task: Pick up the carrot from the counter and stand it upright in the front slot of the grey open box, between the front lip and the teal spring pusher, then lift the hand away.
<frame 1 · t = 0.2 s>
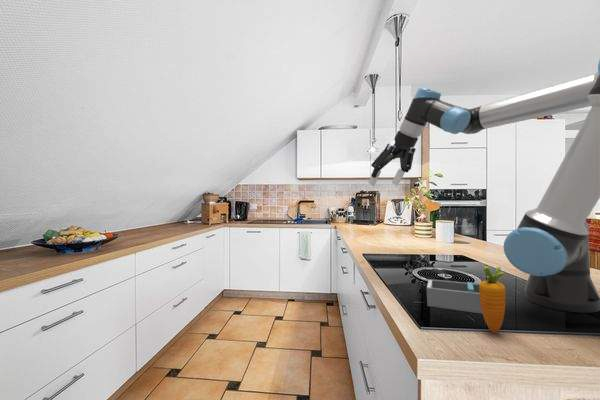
hand: (383, 184, 107), 36 cm above the cooktop, tool tilted 35°, fingers open, 13 cm apart
carrot: (494, 334, 59), on the cooktop
grey open box: (462, 304, 75), on the cooktop
pusher: (470, 293, 74), point 3 cm above the cooktop, slide at 0.0 cm
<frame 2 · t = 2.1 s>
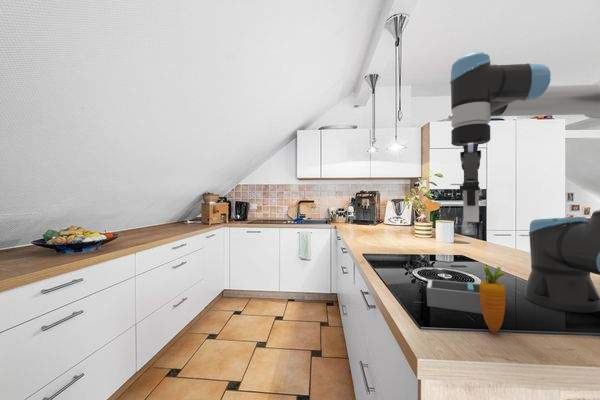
hand: (471, 219, 62), 25 cm above the cooktop, tool pointing down, fingers open, 13 cm apart
nothing on the cooktop moved.
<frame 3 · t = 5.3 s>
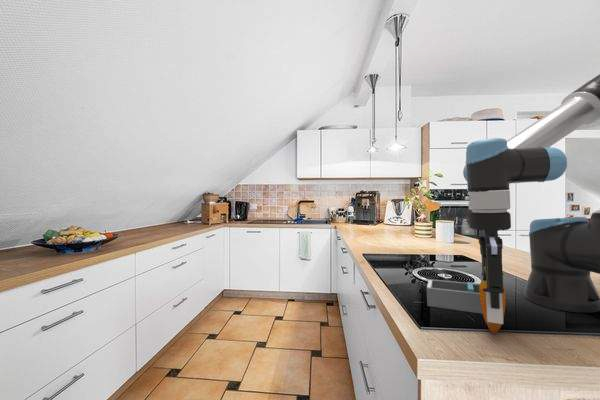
hand: (493, 316, 59), 4 cm above the cooktop, tool pointing down, fingers closed on carrot, 5 cm apart
carrot: (494, 334, 59), on the cooktop, touching gripper
everything else where it was.
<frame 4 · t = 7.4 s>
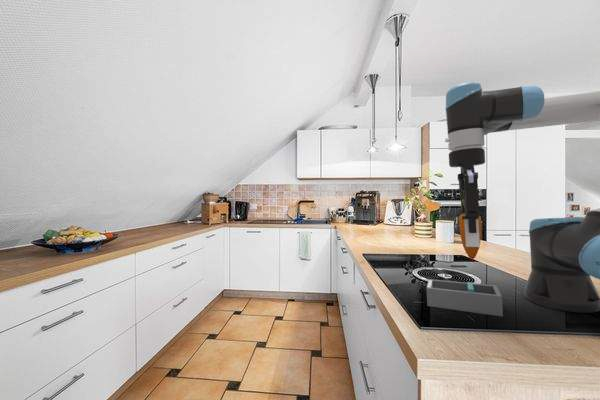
hand: (471, 244, 66), 18 cm above the cooktop, tool pointing down, fingers closed on carrot, 5 cm apart
carrot: (472, 260, 66), point 15 cm above the cooktop, touching gripper
everything else where it was.
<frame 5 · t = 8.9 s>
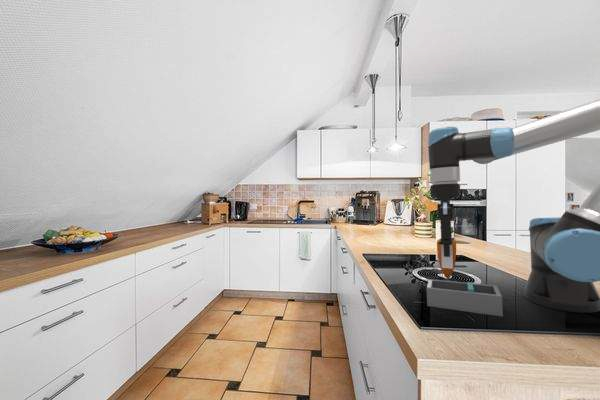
hand: (447, 265, 77), 11 cm above the cooktop, tool pointing down, fingers closed on carrot, 5 cm apart
carrot: (447, 279, 77), point 7 cm above the cooktop, touching gripper
everything else where it was.
when the fingers open (7 cm above the cooktop, at t = 9.9 s): carrot drops 2 cm, resting on grey open box.
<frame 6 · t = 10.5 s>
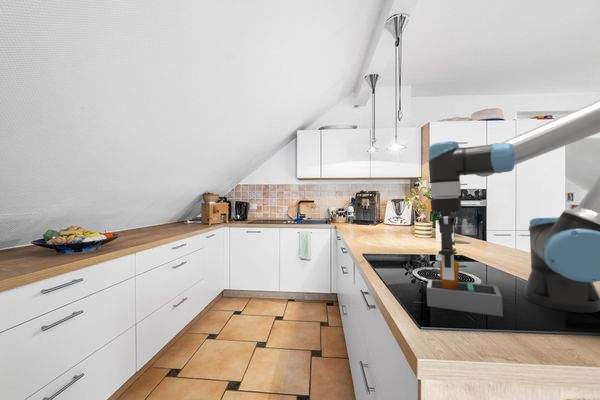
hand: (448, 272, 76), 9 cm above the cooktop, tool pointing down, fingers open, 13 cm apart
carrot: (449, 300, 76), point 1 cm above the cooktop, touching grey open box
everything else where it was.
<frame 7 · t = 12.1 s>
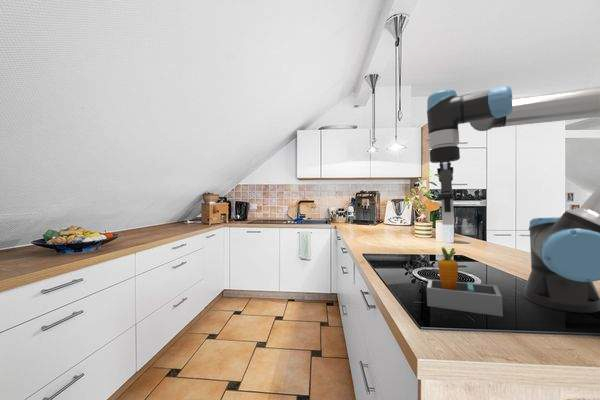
hand: (448, 222, 77), 23 cm above the cooktop, tool pointing down, fingers open, 13 cm apart
nothing on the cooktop moved.
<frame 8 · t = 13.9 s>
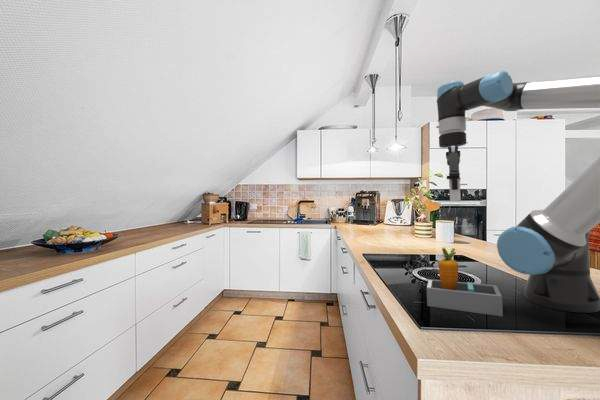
hand: (455, 200, 86), 29 cm above the cooktop, tool pointing down, fingers open, 13 cm apart
nothing on the cooktop moved.
at the end: carrot 0.0 cm from the target spot on the grey open box, point 0.8 cm above the grey open box's base; carrot tilted 1°; the gripper is holding nothing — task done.
